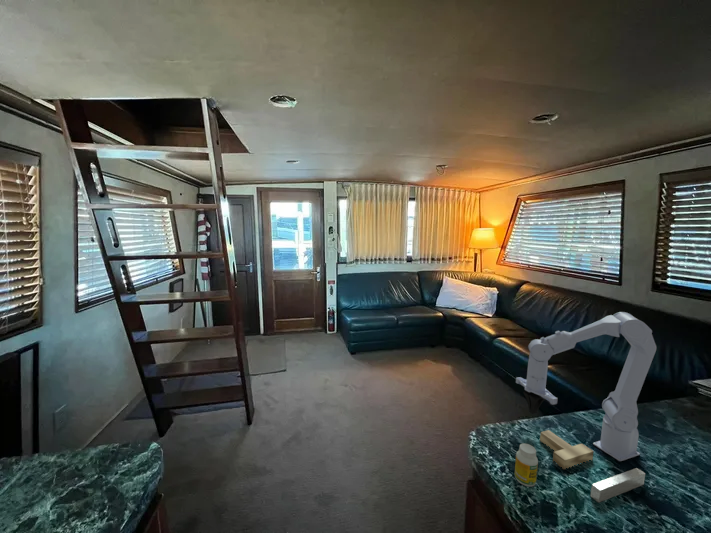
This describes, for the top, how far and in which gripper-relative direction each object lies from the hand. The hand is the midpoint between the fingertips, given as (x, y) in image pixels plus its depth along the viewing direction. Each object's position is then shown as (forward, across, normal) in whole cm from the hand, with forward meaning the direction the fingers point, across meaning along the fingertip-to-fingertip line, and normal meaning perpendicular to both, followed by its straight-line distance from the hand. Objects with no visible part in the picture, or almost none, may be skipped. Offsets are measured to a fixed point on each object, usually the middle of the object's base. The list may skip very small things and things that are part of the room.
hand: (533, 412), depth 105 cm
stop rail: (+7, +26, +1) cm, 27 cm away
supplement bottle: (+7, +16, -20) cm, 26 cm away
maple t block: (+7, +11, 0) cm, 13 cm away
